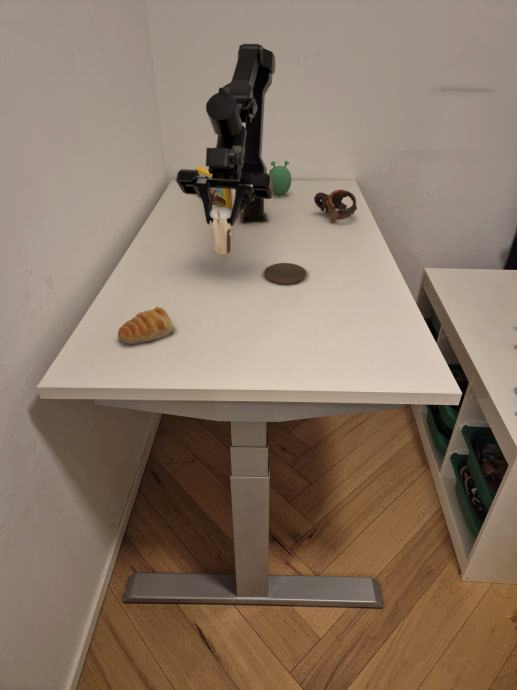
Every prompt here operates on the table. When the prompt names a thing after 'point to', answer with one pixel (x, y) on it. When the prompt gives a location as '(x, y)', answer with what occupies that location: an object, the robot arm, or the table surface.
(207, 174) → the candy box
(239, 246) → the table surface
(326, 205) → the brown coiled strap
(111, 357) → the table surface
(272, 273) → the coaster
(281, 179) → the alien toy
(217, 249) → the milkshake
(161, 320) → the pastry
